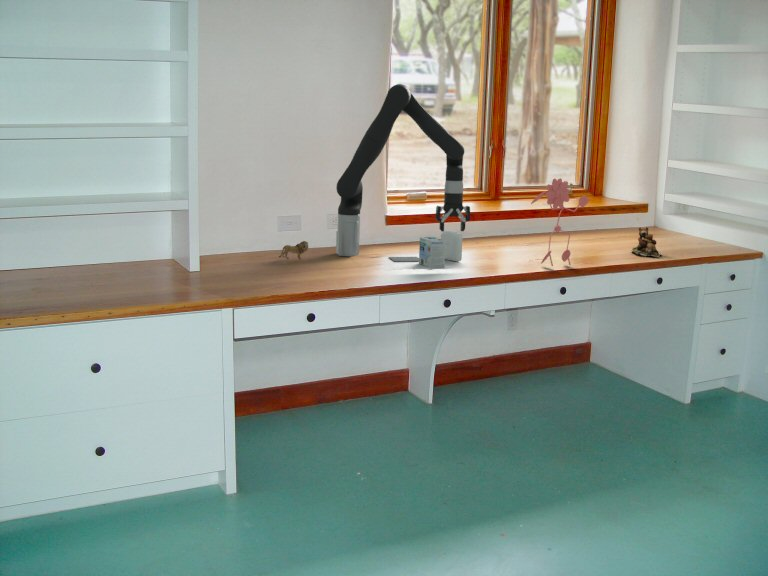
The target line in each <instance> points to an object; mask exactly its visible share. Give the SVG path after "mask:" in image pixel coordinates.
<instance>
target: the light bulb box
mask: <svg viewBox="0 0 768 576" xmlns="http://www.w3.org/2000/svg"><path fill="white" fill-rule="evenodd" d="M445 245H446V240H443V239H441V238H440V237H436V236H422V237H421V236H420V237H419V248H418V249H419V251H418V254H419V255H418V258H419V262H418V264H419V265H422V266H425V267H428V268H429V269H430V268H432V269H435V268H445V266H446V265H445V264H446V263H445V261H446V259H445Z"/></svg>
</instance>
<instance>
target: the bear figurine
mask: <svg viewBox="0 0 768 576" xmlns="http://www.w3.org/2000/svg"><path fill="white" fill-rule="evenodd" d="M638 231H639V232H638V236H639V237H638V239H637V240H638V244H637V246H635V247H632V249H630V252H631V251H632V253H635V254H636V255H641V256H644V257H646V256H647V257H650V256H652V257H655V258H658V257H661V256H660V255H661V254H662V253H660V252H659V250H658V249H657V247H656V245H657V240H655V239H653V238H654V235H653V234H654V233H653V234H652V233H649V227H645V228H641V227H639V228H638ZM659 253H660V254H659Z"/></svg>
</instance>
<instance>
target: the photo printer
mask: <svg viewBox="0 0 768 576" xmlns="http://www.w3.org/2000/svg"><path fill="white" fill-rule="evenodd" d="M440 239H443V240H446V245H445V260H448V261H451V262H452V261H453V262H461V261H462V259H463V257H462V256H463V254H462V253H463V234H462V233H460V231H457V230H454V229H447V230H444V232H442V231H441V233H440Z"/></svg>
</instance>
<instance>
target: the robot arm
mask: <svg viewBox="0 0 768 576" xmlns="http://www.w3.org/2000/svg"><path fill="white" fill-rule="evenodd" d="M402 111H403V112H404V113H406V114H407V115H408V116H409V117H410V119H412V120H413V121H414V122H415V124H417V126H418V127H419V128H420V130H421V131H422V132H423V134H425V135H426V136H427V137H428V138H429V139H430V140H431V141H432V142H433V143H434V144H435V145H437V146H438V147H439V148H440V149H441V150H442V152H444V153H445V155H446V156H445V158H446V159H445V161H446V162H445V163H446V168H445V169H446V170H445V182H444V195H443V196H444V199H443V201H444V202H443V206H440V205H437V206H436V207H435V208H436V209H435V218H434V220H435V221H438V222H439V230H440V231H441V233H442V232H444V231H445V221H446V220H447V219H448V217H450V218H452V217H455V218H457V217H458V218H459V219H460V232H464V231H465V230H466V222H470V221H471V207H470V206H469V205H465V206H464V205H463V203H464V202H463V199H464V198H463V197H464V182H463V181H464V168H463V163H464V162H463V161H464V155H465V148H464V146H463V144H461V143H460V142H459V141H458V139H456V138H455V137H454V136H452V135H451V134H450V133H449V131H448V130H447V129H446V127H444V126H443V125H442V124H441V123H440V122H439V121H438V120H437V119H435V118H434V117H433V116H432V115H431V114H430V113H429V112H428V111H427V110H426V109H425V108H424V107H423V106H422V105H421V104H420V103H419V101H418V100H417V99H416V98H415V96H414V94H413V93H412V92H411V90H410V89H409V87H408V86H406V85H404V84H401V83H397V84H395V85H392V86H391V87H390V88H389V90H388V91H387V94H386V96H385V98H384V101H383V104H382V106H381V108H380V110H379V112H378V114H377V115H376V116H375V118H374V120H373V121H372V122H371V123H370V125H369V127H368V129H367V130H366V132H365V134H364V135H363V137H362V139H361V141H360V142H359V144H358V147H357V148H356V151H355V153H353V156H352V159H351V161H350V163H349V165H348V166H347V168H346V169H345V171H344V172H343V173H342V175H341V176H340V178H339V179H338V181H337V182H336V192H337V194H338V196H340V203H339V206H338V208H337V231H336V232H335V233H336V234H335V236H336V237H335V244H336V245H335V254H336V255H337V256H339V257H356V256H360V234H361V231H360V229H361V228H360V227H361V210H362V209H361V208H362V205H363V182H362V179H363V177H364V175H365V173H366V172H367V170H368V169H369V168H370V167H371V166H372V165H373V164H374V163H375V161H376V160H377V159H378V158H379V156H380V154H381V153H382V151H383V149H384V147H385V146H386V144H387V142H388V140H389V138H390V135H391V133H392V129H393V127H394V124H395V122H396V121H397V120H398V119H397V118H398V117H399V115H401V113H402ZM442 211H444V213H443V214H442V216H441V212H442ZM463 211H464V212H465V213H464V214H465V216H464V214H463V213H462V212H463Z"/></svg>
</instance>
